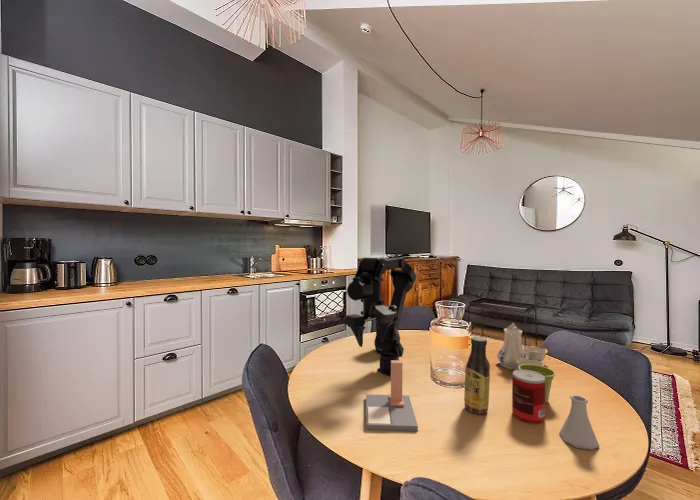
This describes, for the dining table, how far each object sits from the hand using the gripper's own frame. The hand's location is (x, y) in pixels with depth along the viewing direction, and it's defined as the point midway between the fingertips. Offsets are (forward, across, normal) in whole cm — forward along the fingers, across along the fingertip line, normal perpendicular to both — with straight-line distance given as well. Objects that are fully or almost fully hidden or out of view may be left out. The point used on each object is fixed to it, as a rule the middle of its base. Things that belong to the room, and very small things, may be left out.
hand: (371, 344), depth 104 cm
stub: (+12, -4, -15) cm, 20 cm away
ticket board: (+13, -8, -17) cm, 23 cm away
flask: (+13, +18, -52) cm, 57 cm away
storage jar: (+13, +27, +21) cm, 37 cm away
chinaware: (+13, +54, -23) cm, 60 cm away
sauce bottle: (+13, +12, -30) cm, 35 cm away
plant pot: (+13, +32, -37) cm, 51 cm away
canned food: (+13, +20, -40) cm, 47 cm away
